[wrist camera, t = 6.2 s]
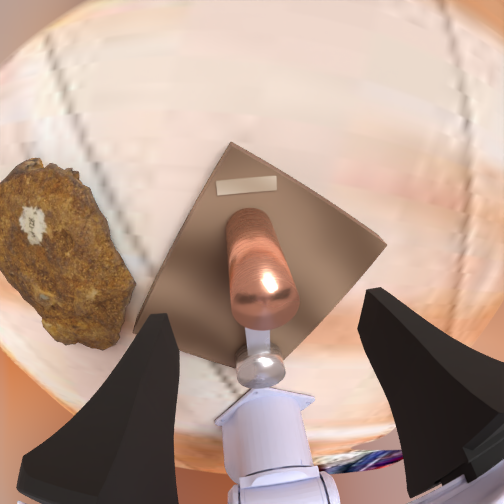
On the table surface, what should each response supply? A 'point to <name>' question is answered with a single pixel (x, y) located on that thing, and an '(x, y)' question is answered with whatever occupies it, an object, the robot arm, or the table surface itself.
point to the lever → (258, 295)
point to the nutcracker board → (292, 244)
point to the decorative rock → (62, 255)
